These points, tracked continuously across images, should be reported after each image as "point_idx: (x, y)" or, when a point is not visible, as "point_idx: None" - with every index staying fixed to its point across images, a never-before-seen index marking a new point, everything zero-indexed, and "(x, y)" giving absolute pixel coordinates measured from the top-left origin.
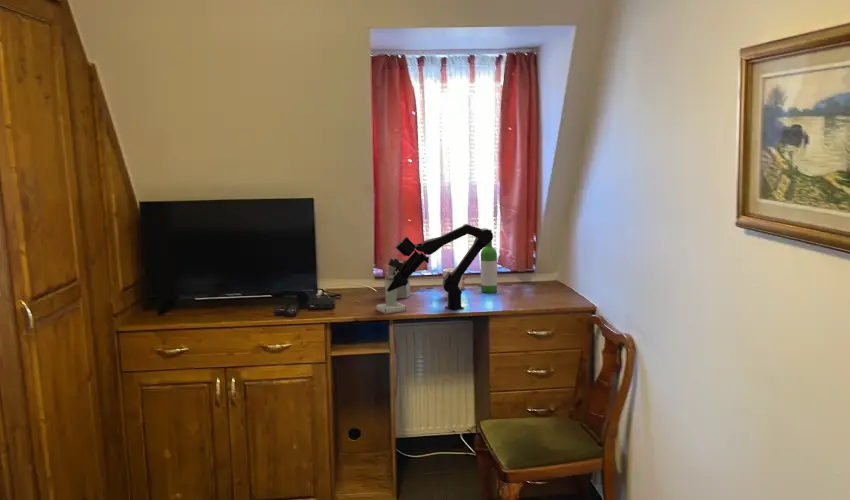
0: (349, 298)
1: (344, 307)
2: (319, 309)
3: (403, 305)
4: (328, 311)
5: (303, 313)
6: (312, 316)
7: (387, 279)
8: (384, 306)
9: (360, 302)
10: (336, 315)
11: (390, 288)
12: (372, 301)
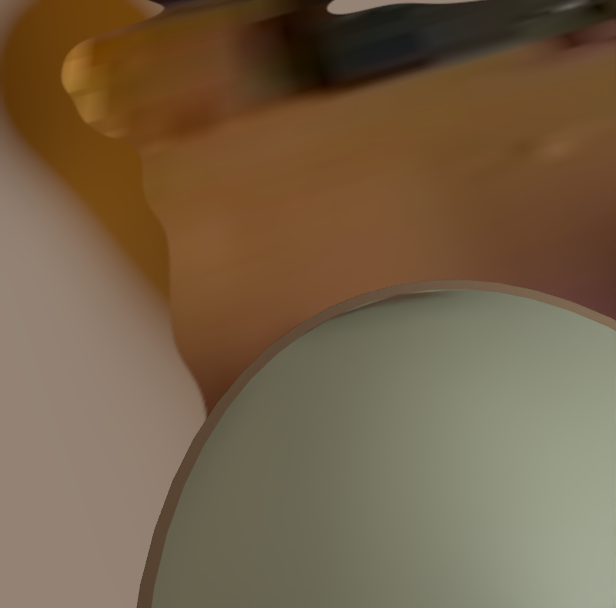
0: (602, 83)
1: (362, 130)
2: (288, 49)
3: None
4: (248, 93)
5: (195, 24)
6: (132, 69)
7: (190, 499)
8: None
9: (531, 166)
10: (152, 154)
11: None
12: (601, 225)
